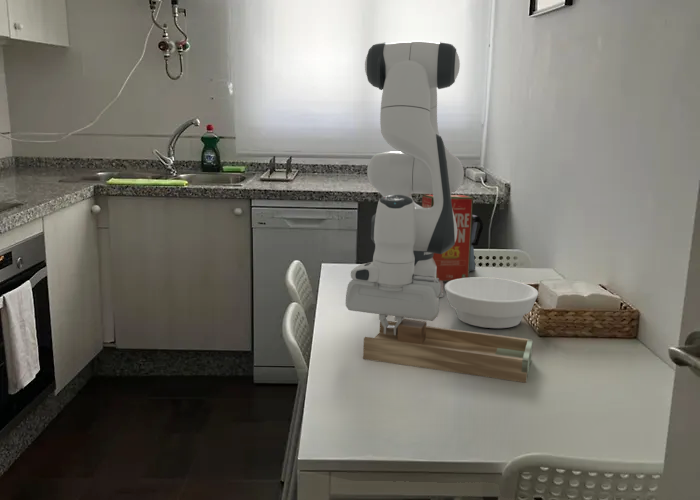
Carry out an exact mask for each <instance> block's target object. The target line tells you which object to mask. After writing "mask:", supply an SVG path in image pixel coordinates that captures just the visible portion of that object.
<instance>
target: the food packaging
mask: <svg viewBox="0 0 700 500" xmlns="http://www.w3.org/2000/svg"><path fill="white" fill-rule="evenodd" d="M421 197H422V200H421V207H423V208H431V207H432V206H433V205H434V198H433V194H422V196H421ZM451 203H452V209H453V213H454V216H455V220H456V224H457V238H456V242H455V245H454V246H453V247H452V248H450V249H449V250H448V251H446V252H445V253H443V254H437V253H434V256H433V259H434V261H435V263H436V266H437V270H436V278H439V280H441V281H443V282H449V281H451V280H455V279H460V278H468V277H470V271H469V266H470V249H471V231H472V215H473V211H474V210H473V209H474V208H473V207H474V197H473V196H470V195H465V194H451Z"/></svg>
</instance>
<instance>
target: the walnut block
mask: <svg viewBox="0 0 700 500" xmlns="http://www.w3.org/2000/svg"><path fill="white" fill-rule="evenodd" d="M426 326H427V320H419V319H411V318H404V319H403V321H402V322H401V323H400V324H399V325H398V339H397V341H400V342H407V343H415V344H422V343H423V342H424V341H425V339H426Z"/></svg>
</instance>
